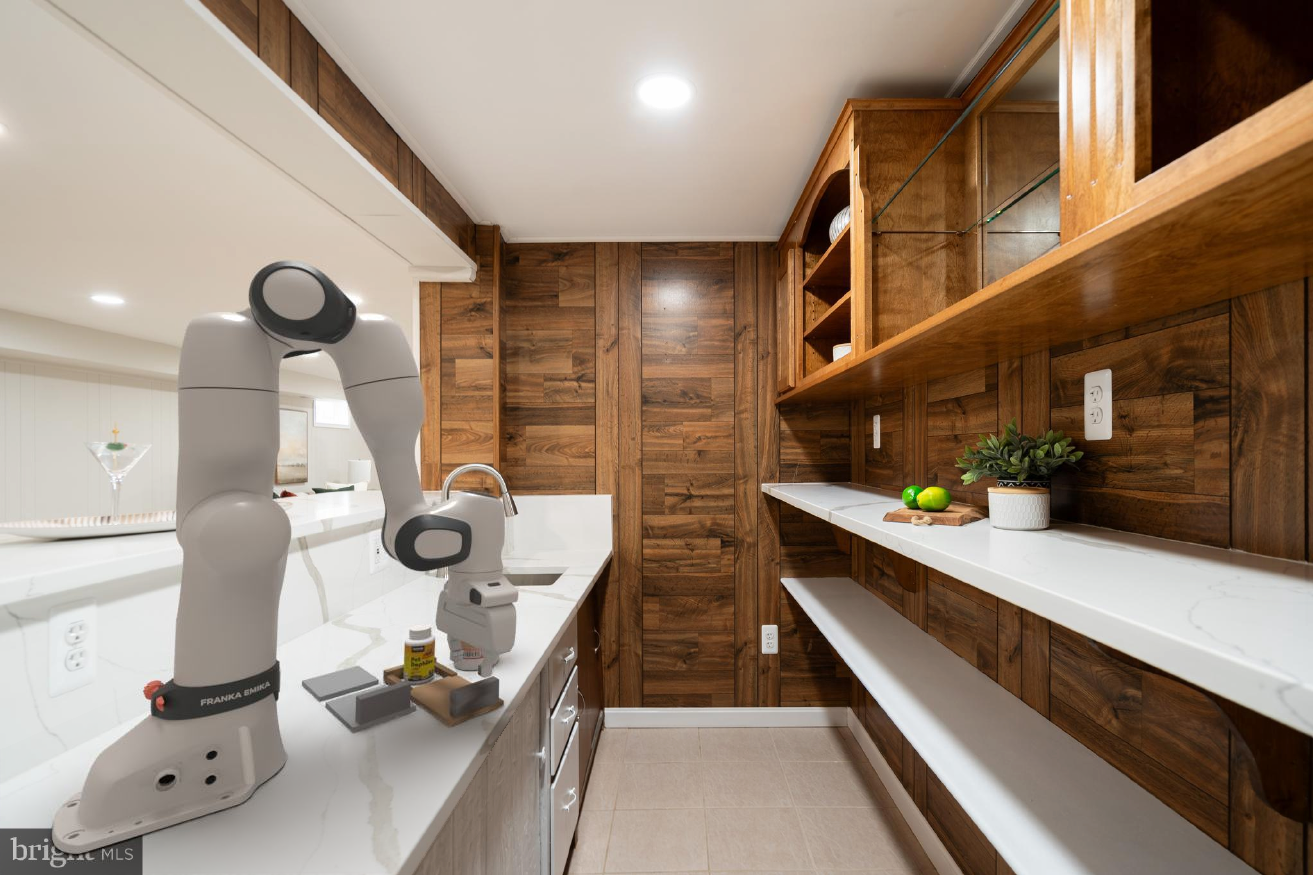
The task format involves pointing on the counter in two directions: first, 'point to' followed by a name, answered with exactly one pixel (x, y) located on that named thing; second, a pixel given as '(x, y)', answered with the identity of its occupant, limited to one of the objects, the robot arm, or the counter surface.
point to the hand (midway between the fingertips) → (470, 668)
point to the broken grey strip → (345, 687)
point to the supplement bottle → (419, 655)
